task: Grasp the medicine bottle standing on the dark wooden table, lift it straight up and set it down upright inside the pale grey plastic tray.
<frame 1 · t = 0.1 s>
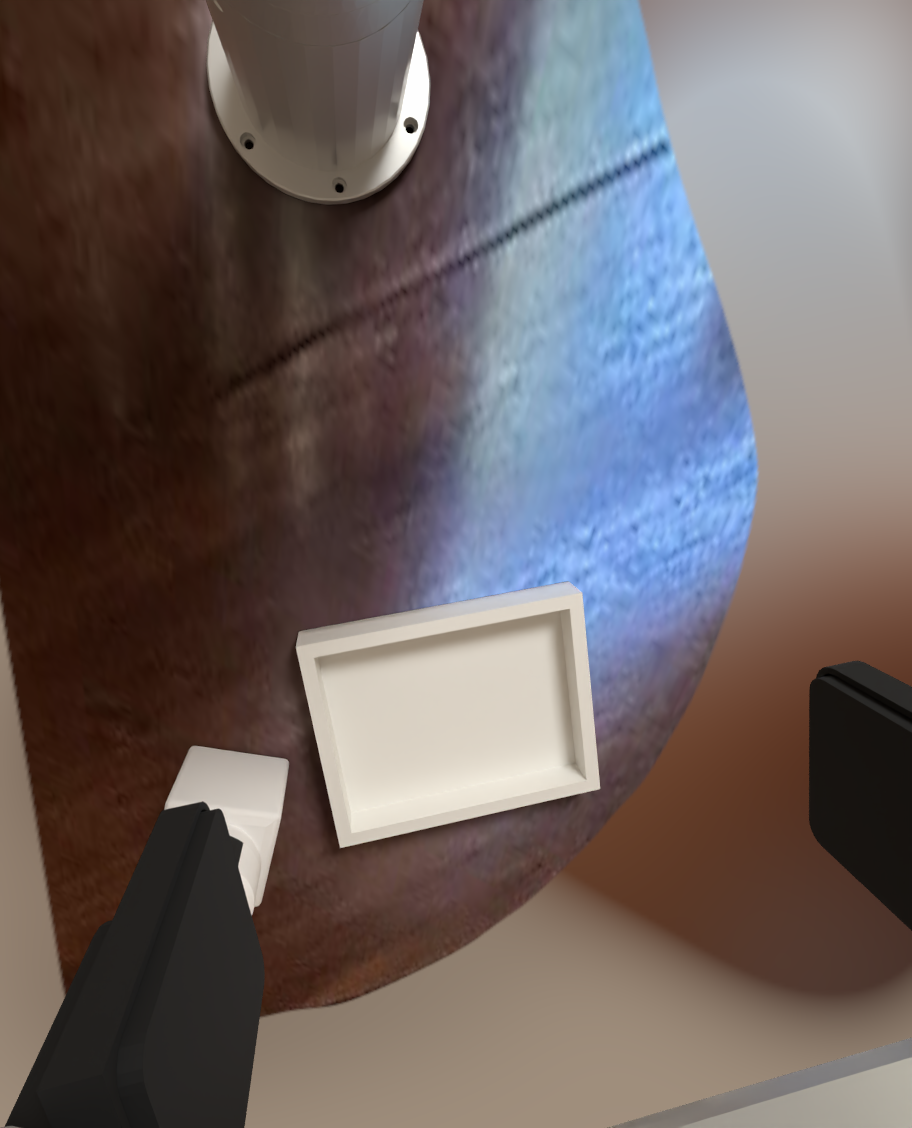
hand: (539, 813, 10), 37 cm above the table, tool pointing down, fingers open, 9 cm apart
medicine bottle: (232, 791, 49), on the table
tray: (452, 704, 50), on the table
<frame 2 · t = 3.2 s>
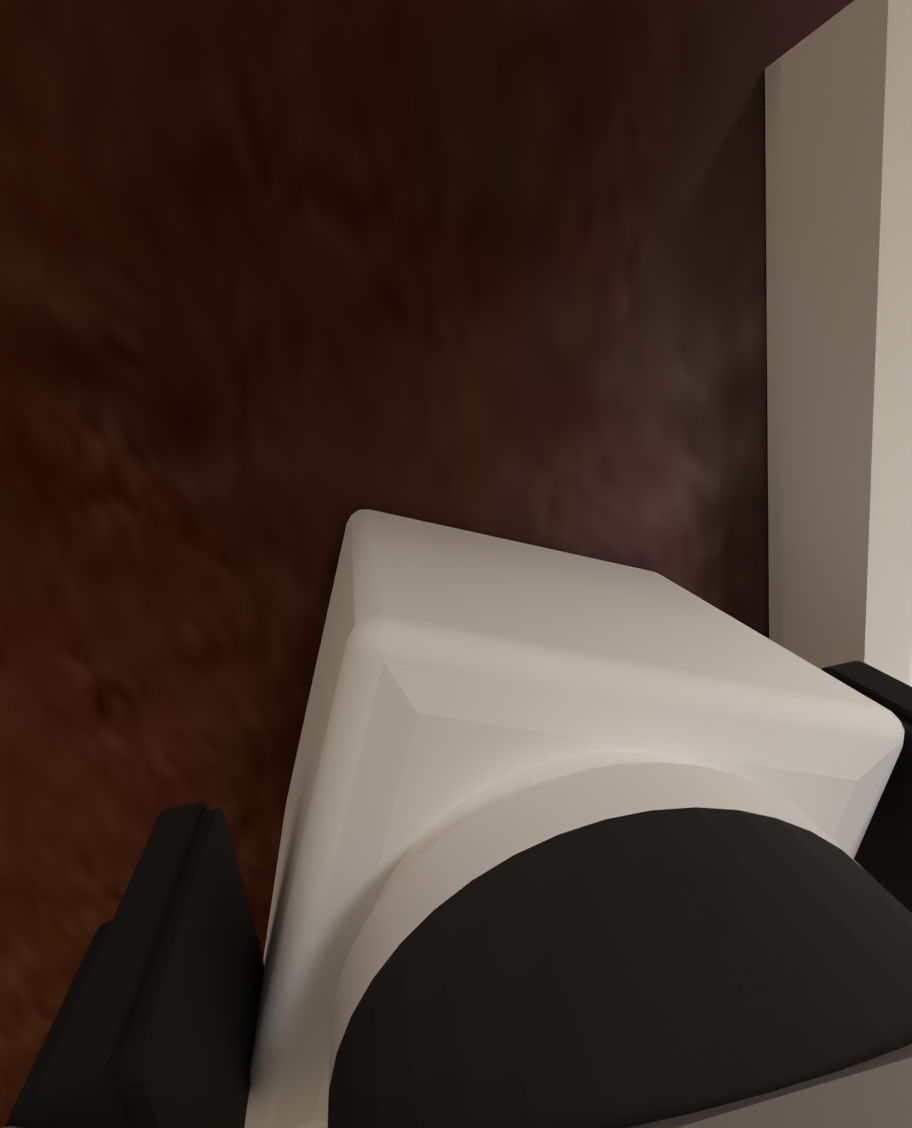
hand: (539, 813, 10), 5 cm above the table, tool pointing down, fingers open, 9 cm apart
medicine bottle: (472, 685, 15), on the table
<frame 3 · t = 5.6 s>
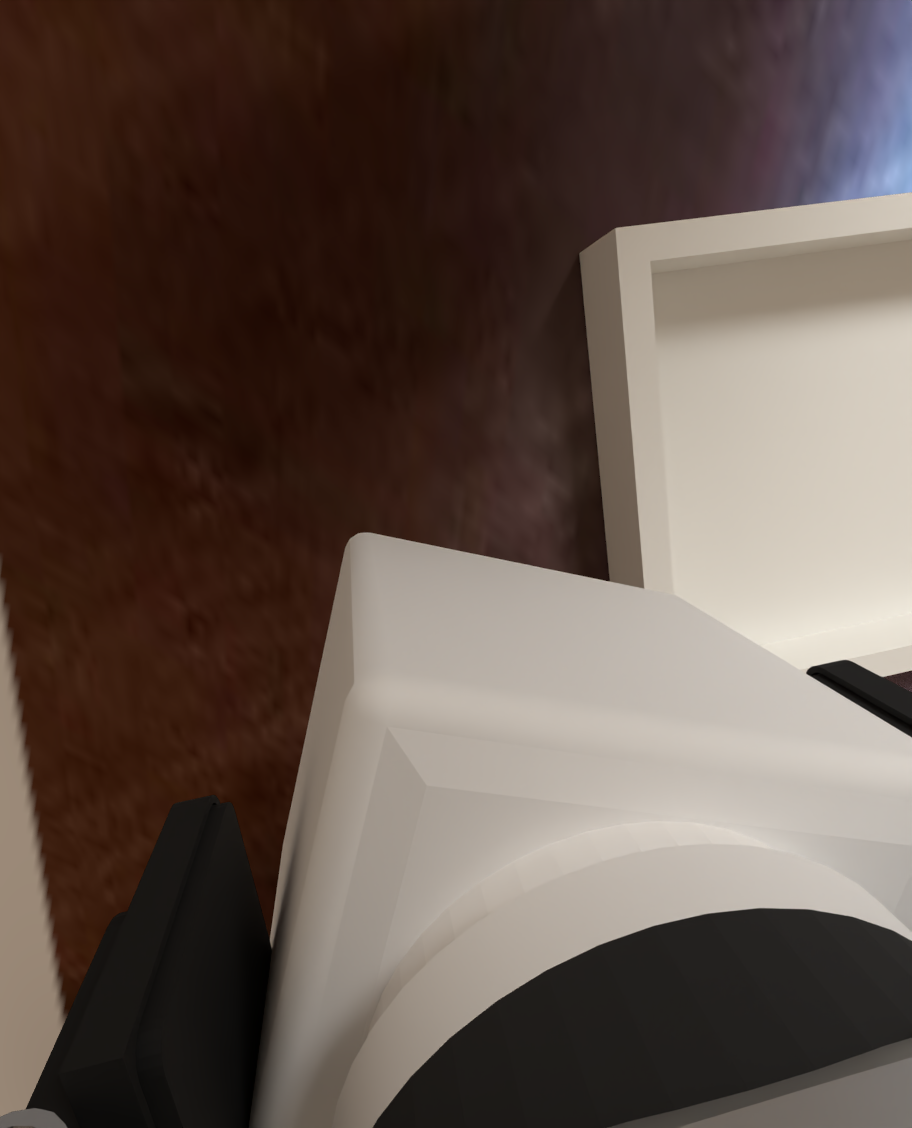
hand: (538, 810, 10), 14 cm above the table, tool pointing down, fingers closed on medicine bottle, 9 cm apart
medicine bottle: (480, 716, 14), point 10 cm above the table, touching gripper
tray: (850, 447, 25), on the table
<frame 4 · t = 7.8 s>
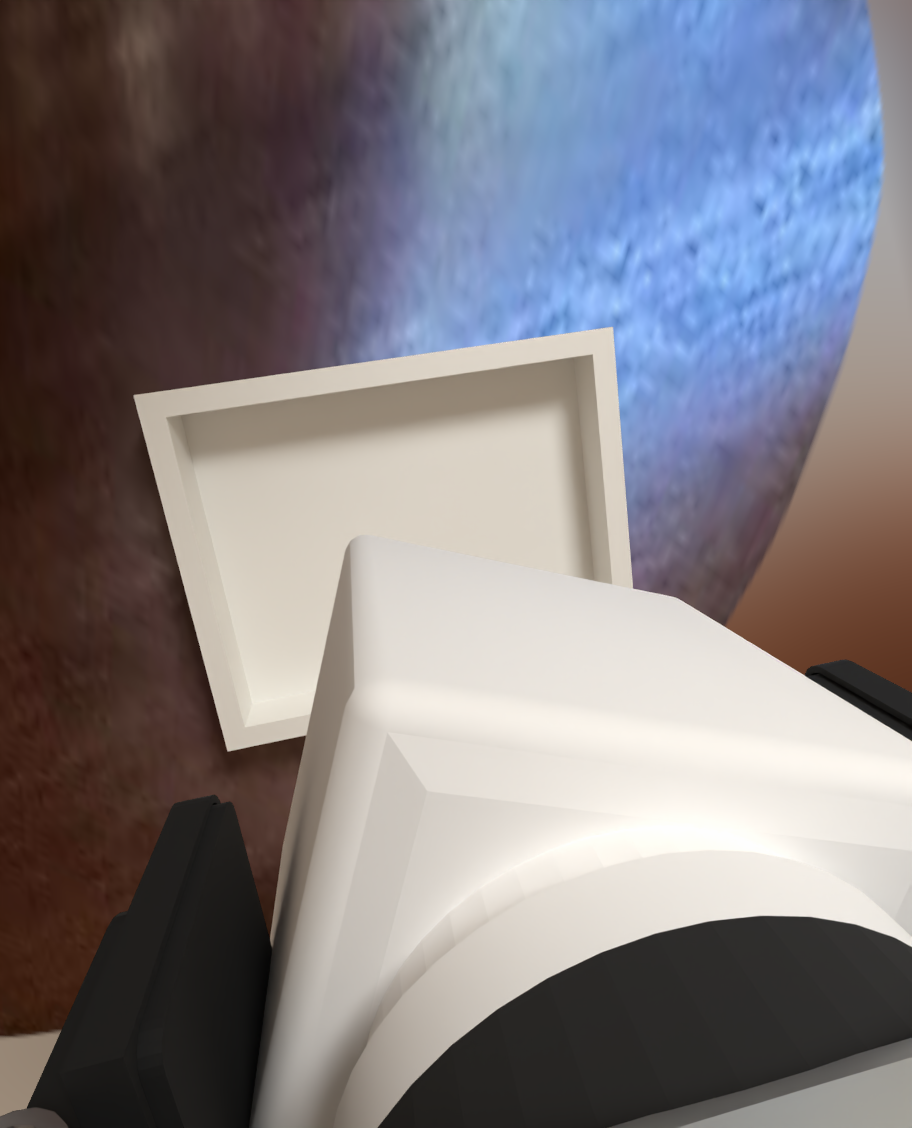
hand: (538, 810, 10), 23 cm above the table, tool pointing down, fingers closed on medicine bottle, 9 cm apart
medicine bottle: (480, 718, 14), point 19 cm above the table, touching gripper
tray: (408, 532, 32), on the table
when the fingers open (6 cm above the table, at t = 12.1 s): medicine bottle drops 1 cm, resting on tray.
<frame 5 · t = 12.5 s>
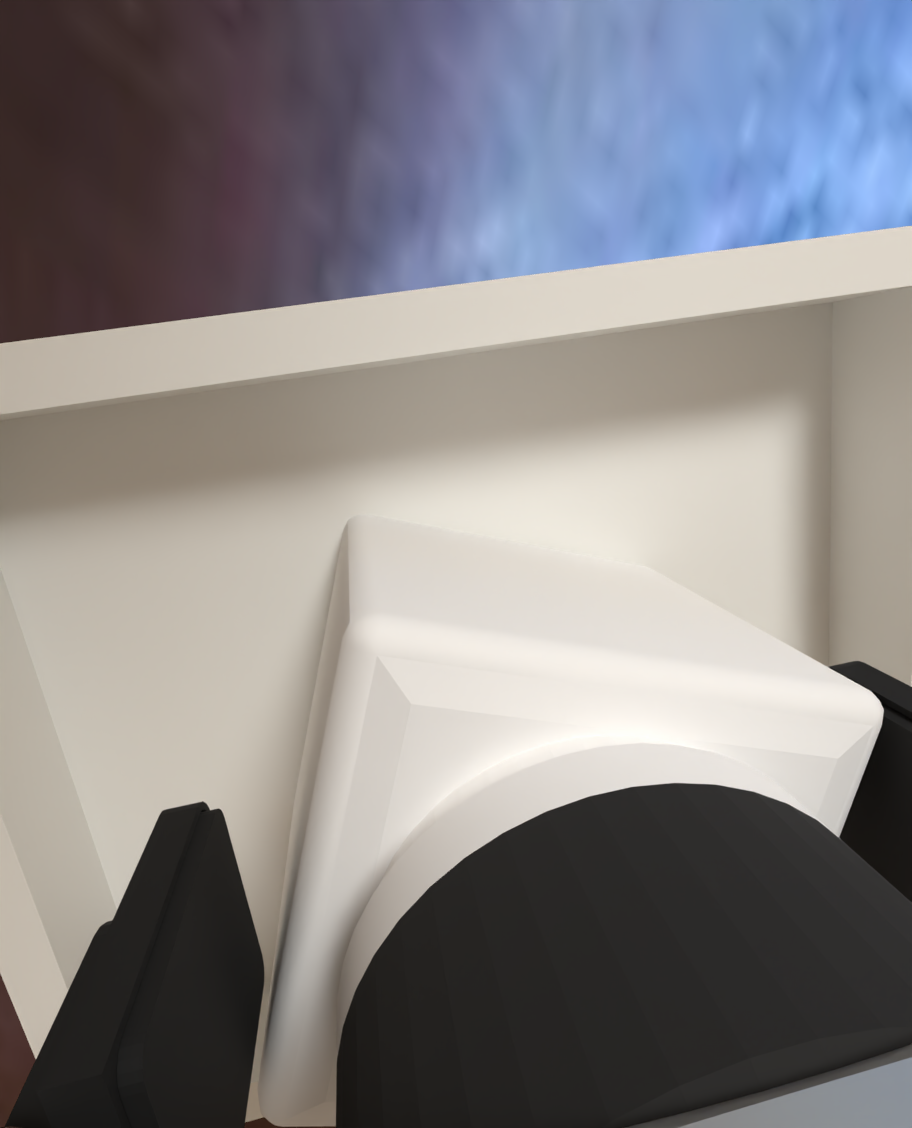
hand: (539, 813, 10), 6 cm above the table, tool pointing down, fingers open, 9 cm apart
medicine bottle: (471, 683, 15), resting on tray
tray: (470, 666, 16), on the table
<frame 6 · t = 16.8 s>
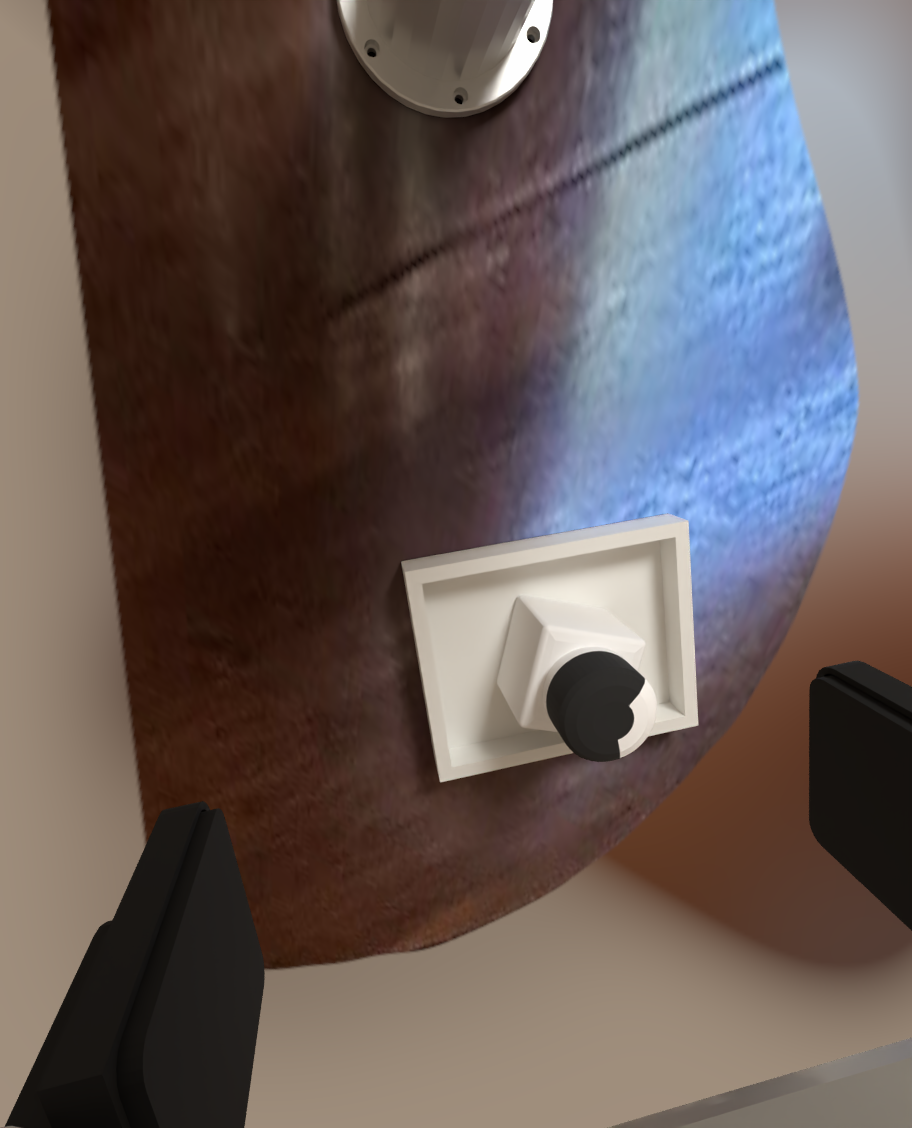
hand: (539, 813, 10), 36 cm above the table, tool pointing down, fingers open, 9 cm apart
medicine bottle: (550, 644, 49), resting on tray
tray: (549, 639, 49), on the table
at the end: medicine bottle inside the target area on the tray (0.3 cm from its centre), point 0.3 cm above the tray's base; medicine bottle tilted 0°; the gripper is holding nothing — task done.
